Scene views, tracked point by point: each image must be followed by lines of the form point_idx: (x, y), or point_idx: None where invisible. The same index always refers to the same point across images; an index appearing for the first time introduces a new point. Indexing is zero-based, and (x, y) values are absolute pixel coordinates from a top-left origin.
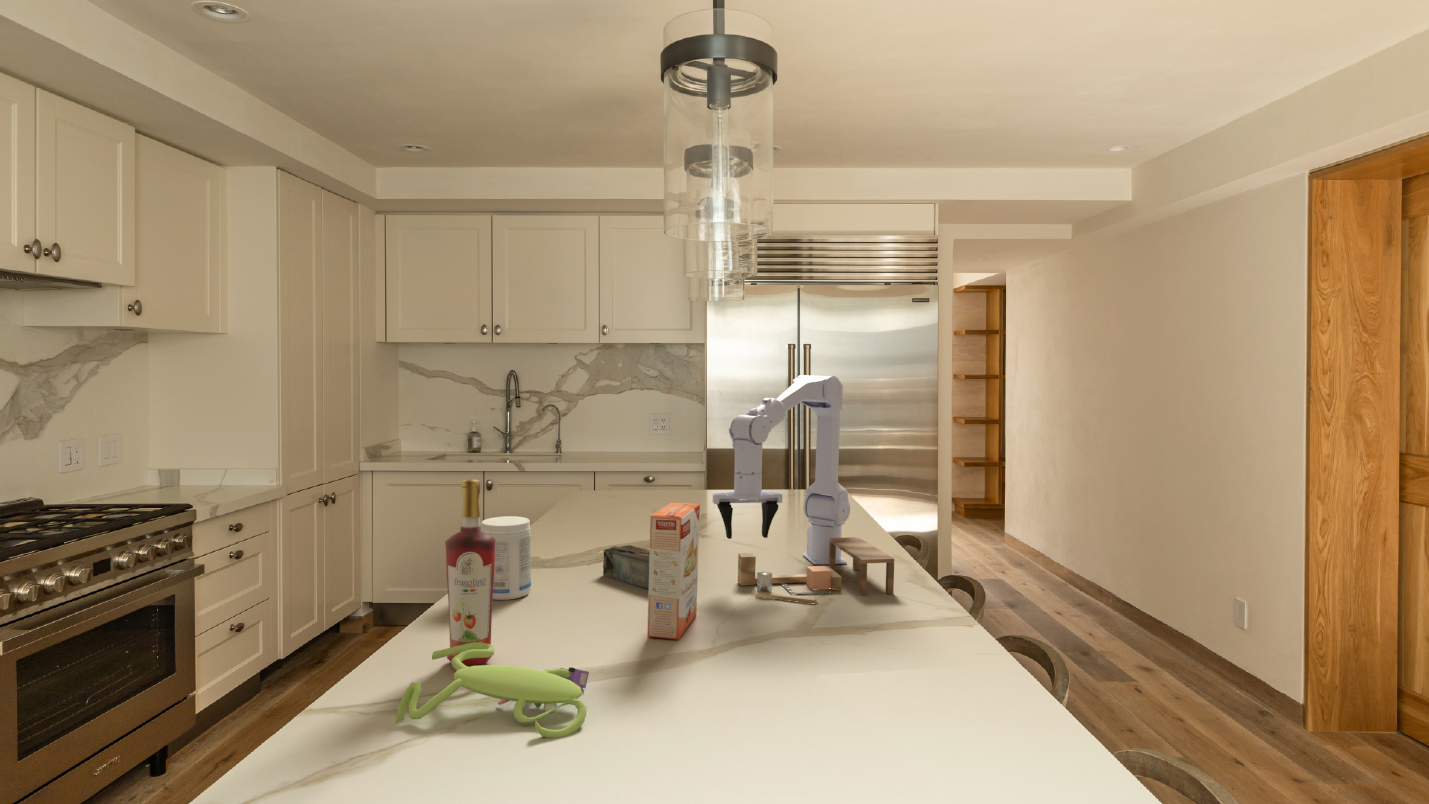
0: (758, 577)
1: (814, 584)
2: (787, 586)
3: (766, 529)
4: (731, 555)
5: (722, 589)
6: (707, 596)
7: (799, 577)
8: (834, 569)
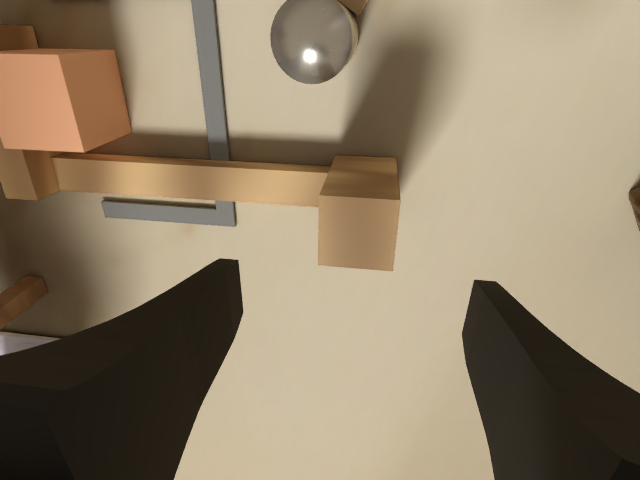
0: (351, 24)
1: (91, 50)
2: (208, 107)
3: (203, 280)
4: (317, 471)
5: (489, 127)
6: (613, 21)
7: (144, 162)
8: (25, 278)
